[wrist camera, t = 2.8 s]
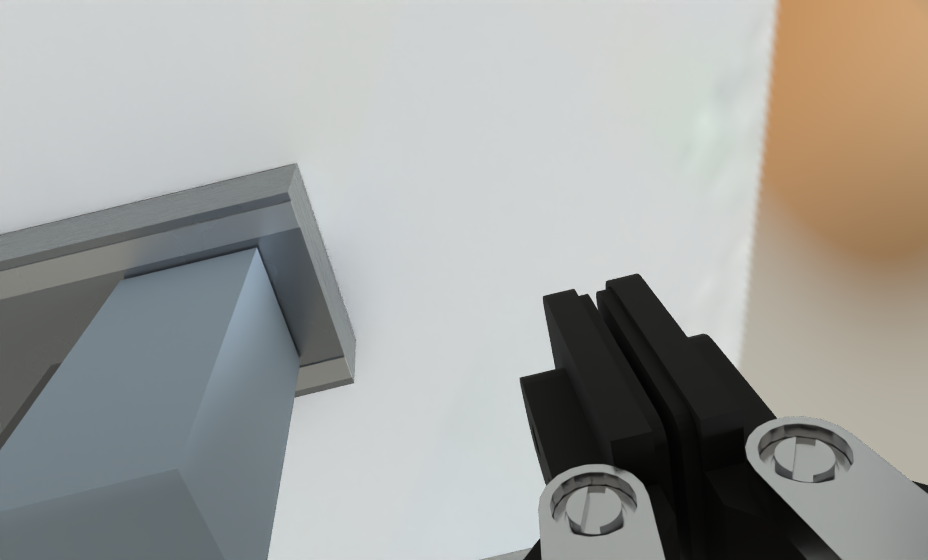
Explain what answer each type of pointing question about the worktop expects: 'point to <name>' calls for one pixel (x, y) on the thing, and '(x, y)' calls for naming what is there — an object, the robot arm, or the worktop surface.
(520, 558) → the white drink carton
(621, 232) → the worktop surface
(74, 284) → the rail
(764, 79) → the worktop surface
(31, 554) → the block
